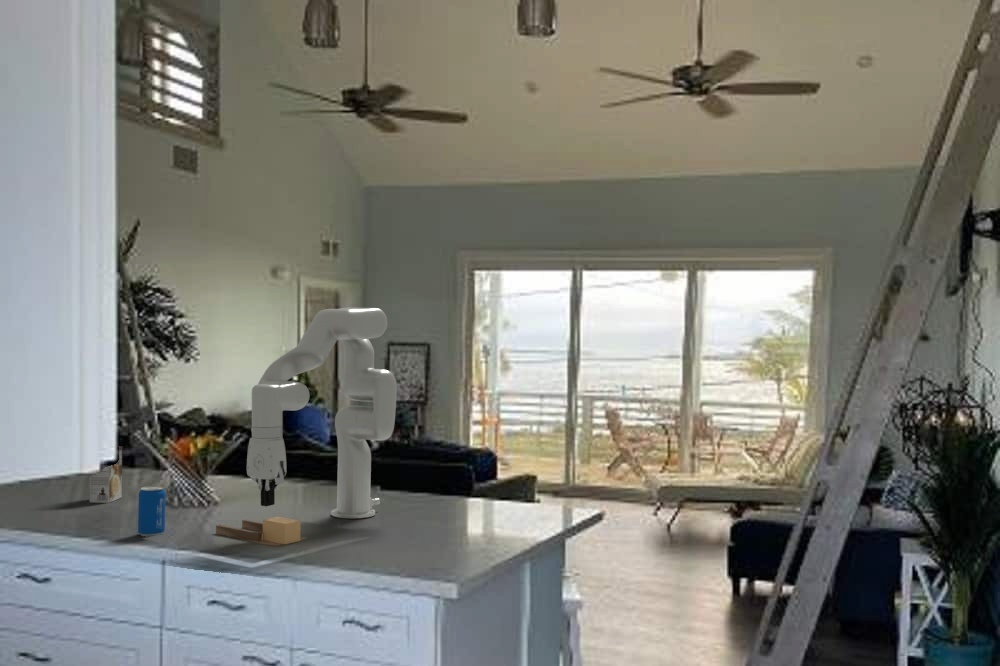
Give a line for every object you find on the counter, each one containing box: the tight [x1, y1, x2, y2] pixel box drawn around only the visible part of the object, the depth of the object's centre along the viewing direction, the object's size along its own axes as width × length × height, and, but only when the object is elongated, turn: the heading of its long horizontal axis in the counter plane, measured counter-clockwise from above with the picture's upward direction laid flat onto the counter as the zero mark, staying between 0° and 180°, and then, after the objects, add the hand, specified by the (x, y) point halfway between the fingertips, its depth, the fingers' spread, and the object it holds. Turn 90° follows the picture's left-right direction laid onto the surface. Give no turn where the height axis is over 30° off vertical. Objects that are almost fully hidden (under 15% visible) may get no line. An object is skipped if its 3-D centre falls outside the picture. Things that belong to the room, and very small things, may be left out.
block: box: [262, 516, 302, 545], centre depth 235 cm, size 5×8×5 cm, turn 56°
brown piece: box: [214, 519, 308, 547], centre depth 239 cm, size 12×22×3 cm, turn 56°
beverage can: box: [137, 485, 166, 538], centre depth 243 cm, size 6×6×12 cm
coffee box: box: [89, 446, 123, 504], centre depth 290 cm, size 9×6×16 cm
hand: (267, 505), depth 239 cm, fingers closed
